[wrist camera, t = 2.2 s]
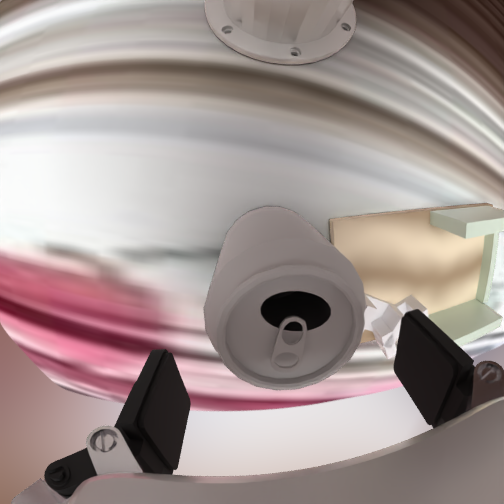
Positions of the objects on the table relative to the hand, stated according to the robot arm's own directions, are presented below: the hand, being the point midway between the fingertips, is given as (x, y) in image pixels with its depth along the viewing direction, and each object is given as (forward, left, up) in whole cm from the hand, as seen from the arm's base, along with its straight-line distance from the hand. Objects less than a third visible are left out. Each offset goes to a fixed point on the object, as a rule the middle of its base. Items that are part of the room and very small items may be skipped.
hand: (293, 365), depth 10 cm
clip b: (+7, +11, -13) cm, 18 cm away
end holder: (+3, +19, -12) cm, 23 cm away
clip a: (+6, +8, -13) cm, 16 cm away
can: (-1, 0, -13) cm, 13 cm away
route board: (+3, +15, -13) cm, 20 cm away
